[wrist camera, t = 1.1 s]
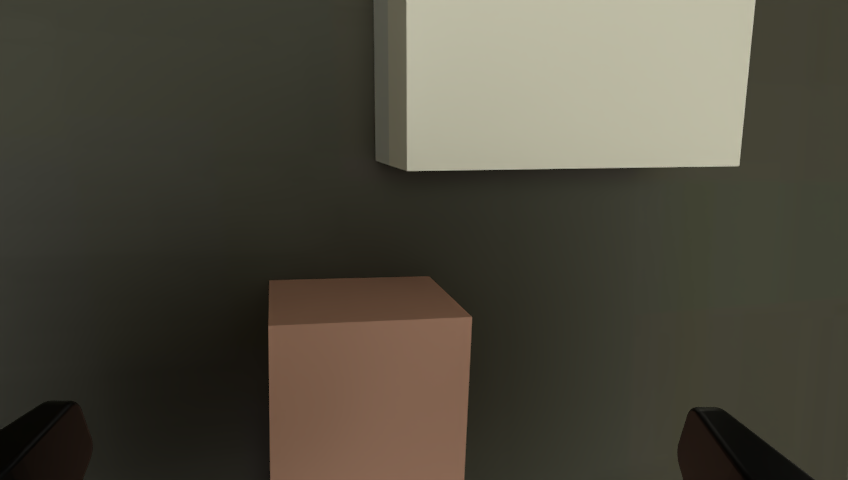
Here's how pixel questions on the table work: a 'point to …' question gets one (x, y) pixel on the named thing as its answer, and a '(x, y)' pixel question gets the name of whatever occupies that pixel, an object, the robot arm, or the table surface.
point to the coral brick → (367, 379)
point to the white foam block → (560, 83)
